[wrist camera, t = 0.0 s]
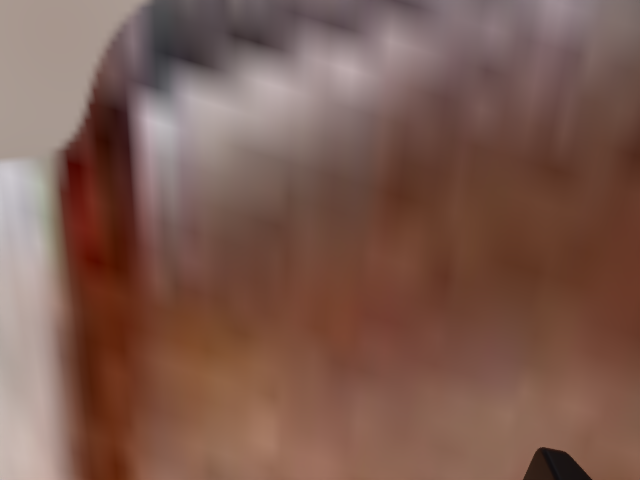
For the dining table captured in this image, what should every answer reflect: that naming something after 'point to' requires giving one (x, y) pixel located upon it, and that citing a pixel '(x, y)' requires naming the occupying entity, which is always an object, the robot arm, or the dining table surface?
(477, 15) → the dining table surface
